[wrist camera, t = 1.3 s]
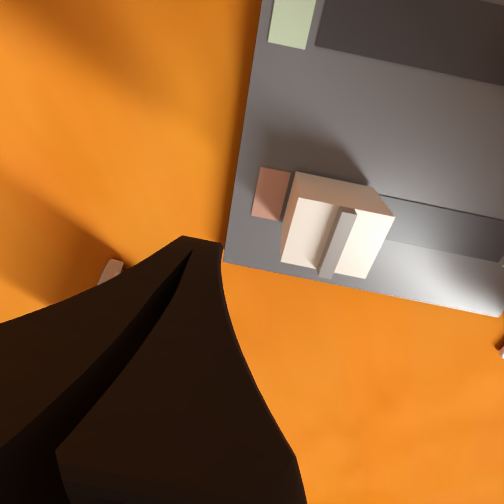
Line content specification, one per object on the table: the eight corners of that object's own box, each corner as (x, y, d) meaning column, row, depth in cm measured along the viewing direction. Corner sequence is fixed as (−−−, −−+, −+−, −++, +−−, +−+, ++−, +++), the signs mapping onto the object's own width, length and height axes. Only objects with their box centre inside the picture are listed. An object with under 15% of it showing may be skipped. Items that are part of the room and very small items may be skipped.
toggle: (372, 187, 15) (400, 223, 11) (350, 240, 17) (368, 287, 13) (295, 171, 15) (299, 203, 11) (281, 226, 17) (280, 269, 13)
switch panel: (737, 1, 11) (786, -7, 10) (487, 304, 20) (499, 318, 19) (280, -100, 11) (279, -118, 10) (225, 252, 20) (222, 262, 18)
